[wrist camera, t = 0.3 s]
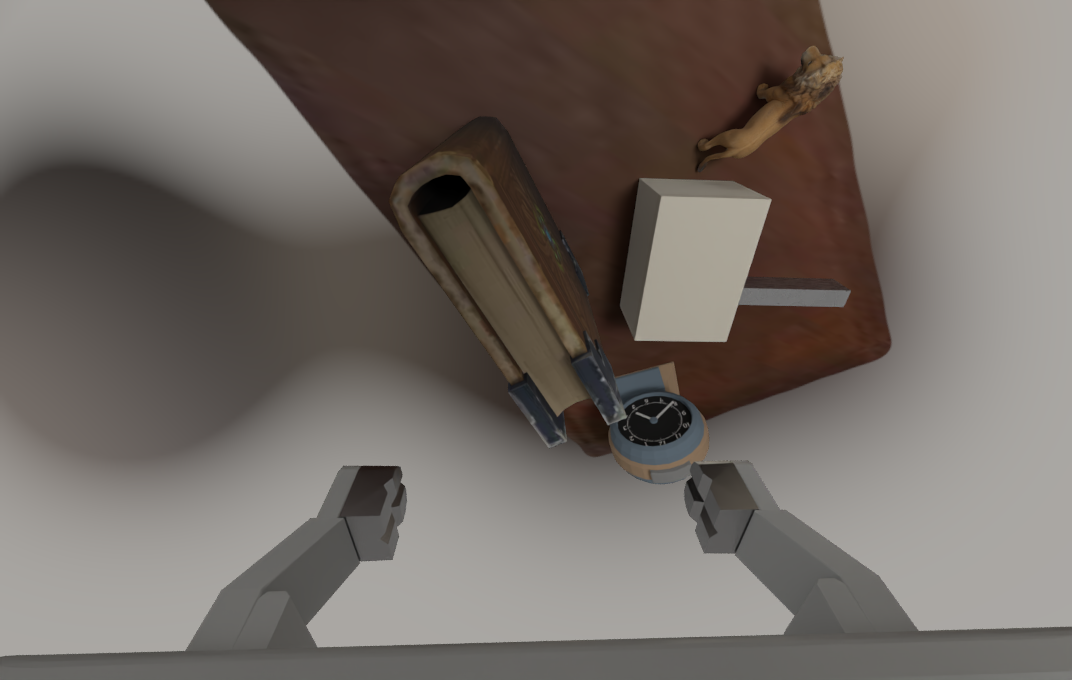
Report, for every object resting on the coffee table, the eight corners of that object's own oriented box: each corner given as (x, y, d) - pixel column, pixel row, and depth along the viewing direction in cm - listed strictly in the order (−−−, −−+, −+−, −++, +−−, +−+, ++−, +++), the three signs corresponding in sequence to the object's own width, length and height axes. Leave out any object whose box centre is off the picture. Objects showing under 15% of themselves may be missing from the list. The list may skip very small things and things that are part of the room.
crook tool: (720, 241, 58) (733, 252, 54) (847, 245, 58) (867, 255, 55) (706, 291, 62) (717, 304, 58) (825, 294, 62) (843, 306, 59)
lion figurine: (782, 41, 46) (834, 33, 38) (811, 76, 48) (866, 75, 40) (683, 157, 52) (710, 171, 44) (711, 184, 54) (743, 202, 46)
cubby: (639, 178, 53) (661, 196, 45) (733, 181, 53) (771, 199, 45) (619, 306, 62) (634, 340, 54) (699, 307, 63) (726, 341, 55)
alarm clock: (679, 359, 68) (724, 439, 53) (687, 403, 73) (730, 488, 58) (593, 382, 70) (613, 466, 55) (606, 424, 75) (627, 511, 60)
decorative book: (582, 272, 59) (627, 417, 34) (537, 294, 61) (549, 448, 36) (496, 105, 48) (468, 132, 23) (445, 137, 50) (364, 197, 24)
